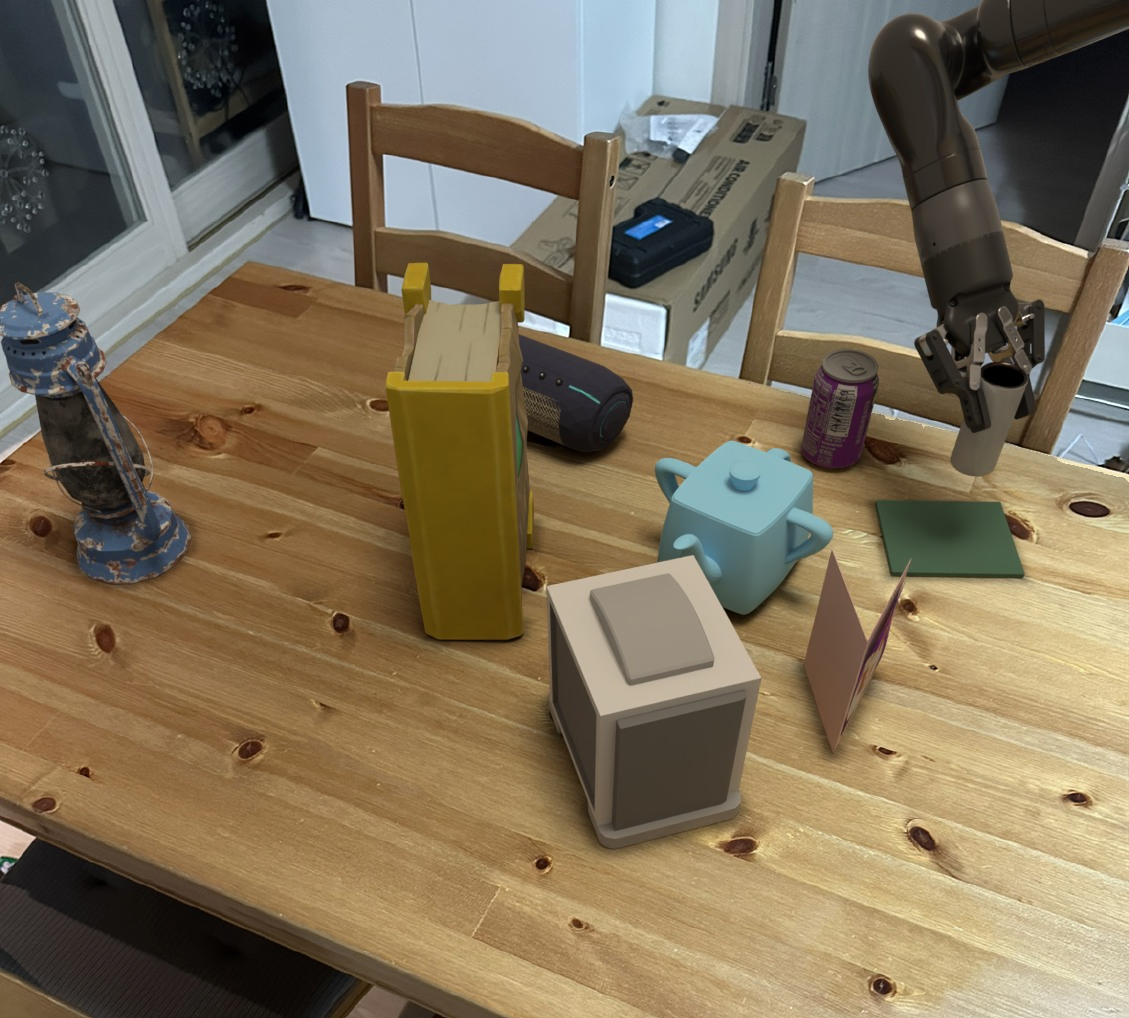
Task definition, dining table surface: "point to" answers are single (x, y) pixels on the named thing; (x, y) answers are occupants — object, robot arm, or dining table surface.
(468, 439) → the decorative book
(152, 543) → the lantern
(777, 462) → the teapot
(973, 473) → the planter
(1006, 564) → the green mat
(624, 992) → the dining table surface
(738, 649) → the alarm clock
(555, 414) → the portable speaker
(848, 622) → the greeting card
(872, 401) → the beverage can
